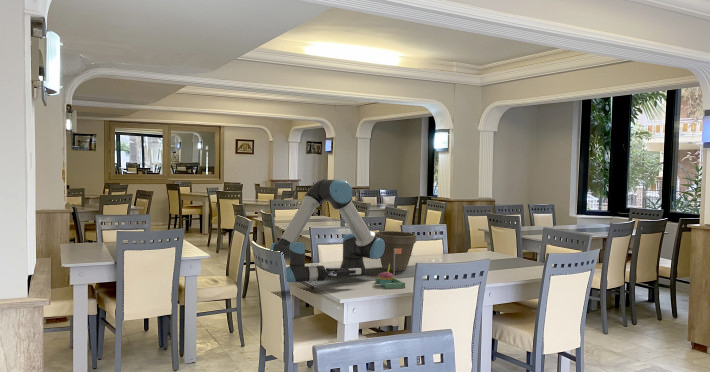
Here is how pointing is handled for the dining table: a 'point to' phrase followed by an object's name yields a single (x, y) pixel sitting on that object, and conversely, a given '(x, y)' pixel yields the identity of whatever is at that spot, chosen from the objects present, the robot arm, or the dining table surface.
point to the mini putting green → (395, 282)
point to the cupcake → (385, 277)
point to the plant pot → (398, 242)
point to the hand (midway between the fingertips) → (360, 271)
